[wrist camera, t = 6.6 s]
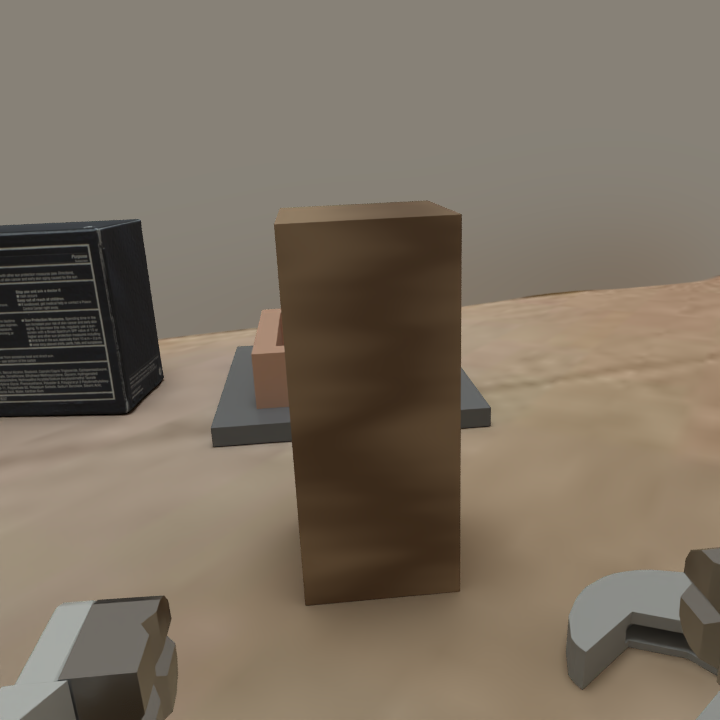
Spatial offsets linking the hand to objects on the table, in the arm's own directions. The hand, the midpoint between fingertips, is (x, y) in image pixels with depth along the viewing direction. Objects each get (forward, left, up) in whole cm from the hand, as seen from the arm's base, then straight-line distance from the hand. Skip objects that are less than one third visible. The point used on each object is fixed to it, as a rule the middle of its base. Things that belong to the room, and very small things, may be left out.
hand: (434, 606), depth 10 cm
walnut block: (0, +12, -7) cm, 14 cm away
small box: (-17, +31, -7) cm, 36 cm away
